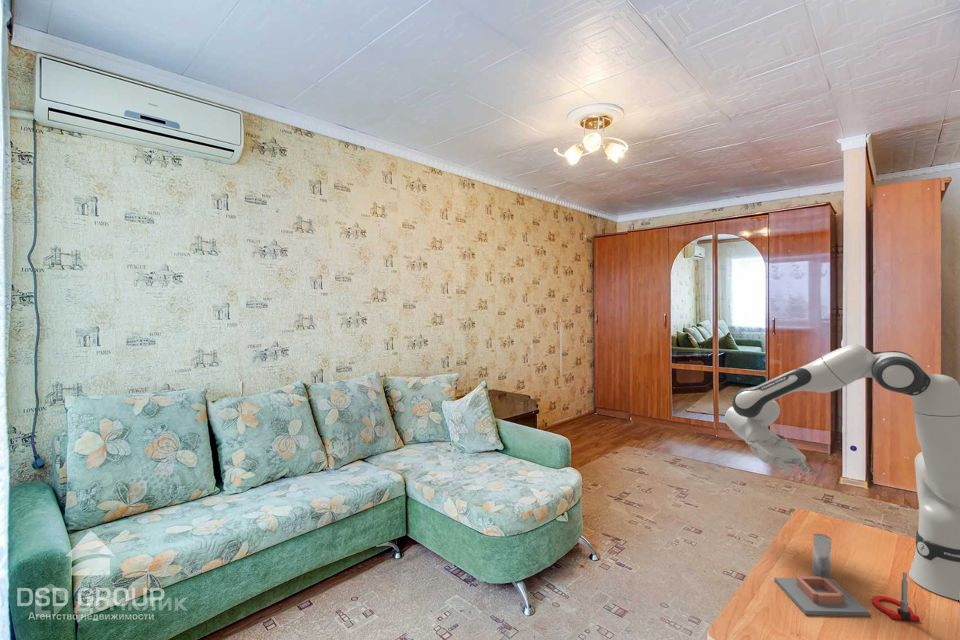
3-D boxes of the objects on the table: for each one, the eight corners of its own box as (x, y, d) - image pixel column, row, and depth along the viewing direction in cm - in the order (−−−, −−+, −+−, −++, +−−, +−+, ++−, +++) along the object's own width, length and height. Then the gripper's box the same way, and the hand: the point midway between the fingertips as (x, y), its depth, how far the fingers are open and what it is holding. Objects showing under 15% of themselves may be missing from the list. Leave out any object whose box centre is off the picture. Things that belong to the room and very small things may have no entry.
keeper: (832, 582, 135) (832, 570, 134) (869, 616, 121) (870, 603, 120) (774, 581, 136) (774, 569, 135) (805, 614, 122) (805, 601, 122)
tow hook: (864, 598, 128) (888, 620, 119) (864, 554, 128) (889, 573, 119) (896, 600, 127) (924, 623, 118) (897, 556, 127) (924, 575, 118)
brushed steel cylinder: (823, 569, 141) (824, 533, 140) (833, 578, 136) (834, 541, 136) (809, 569, 141) (810, 533, 140) (818, 578, 137) (820, 541, 136)
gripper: (749, 433, 151) (784, 462, 139) (787, 437, 159) (823, 465, 147) (739, 447, 153) (773, 477, 142) (777, 450, 161) (812, 479, 150)
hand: (799, 471), depth 145 cm, fingers open, 8 cm apart
